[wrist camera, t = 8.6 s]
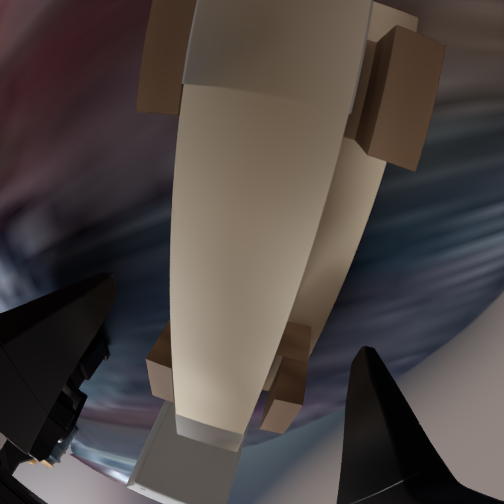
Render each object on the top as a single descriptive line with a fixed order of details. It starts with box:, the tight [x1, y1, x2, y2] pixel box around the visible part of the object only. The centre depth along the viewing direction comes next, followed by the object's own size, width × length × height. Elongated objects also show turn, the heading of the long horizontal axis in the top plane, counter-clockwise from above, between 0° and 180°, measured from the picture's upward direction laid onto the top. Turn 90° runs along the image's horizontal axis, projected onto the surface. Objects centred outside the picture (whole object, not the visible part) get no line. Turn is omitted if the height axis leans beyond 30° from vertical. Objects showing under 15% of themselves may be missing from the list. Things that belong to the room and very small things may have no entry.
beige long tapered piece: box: [136, 0, 445, 434], centre depth 14 cm, size 10×26×7 cm, turn 170°
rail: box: [170, 0, 374, 452], centre depth 11 cm, size 4×20×5 cm, turn 170°
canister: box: [28, 426, 78, 467], centre depth 48 cm, size 13×13×18 cm
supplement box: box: [126, 400, 249, 504], centre depth 22 cm, size 7×7×13 cm
